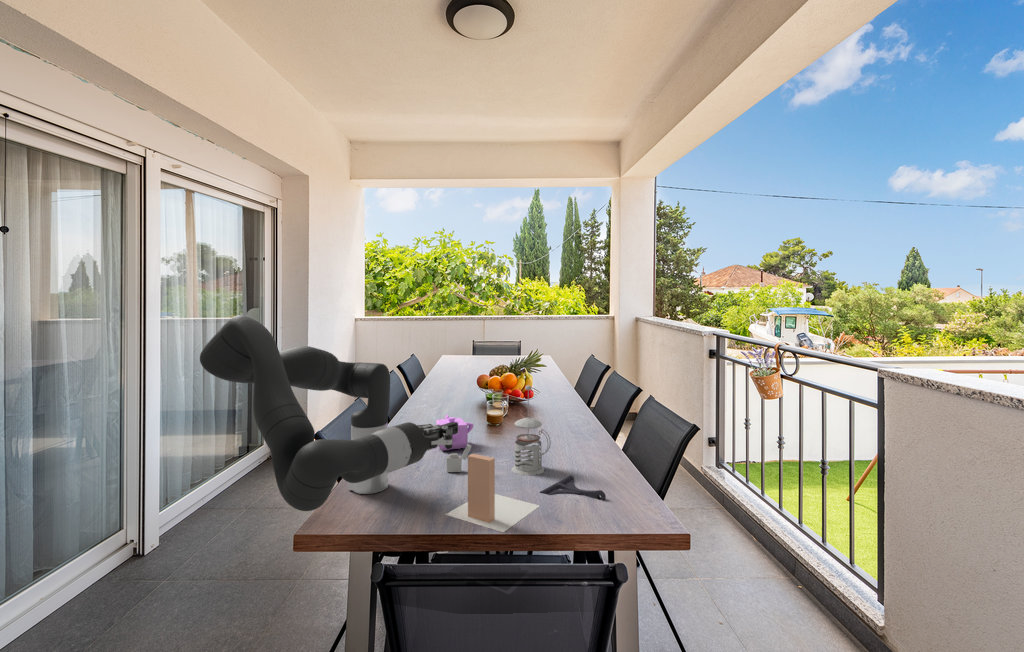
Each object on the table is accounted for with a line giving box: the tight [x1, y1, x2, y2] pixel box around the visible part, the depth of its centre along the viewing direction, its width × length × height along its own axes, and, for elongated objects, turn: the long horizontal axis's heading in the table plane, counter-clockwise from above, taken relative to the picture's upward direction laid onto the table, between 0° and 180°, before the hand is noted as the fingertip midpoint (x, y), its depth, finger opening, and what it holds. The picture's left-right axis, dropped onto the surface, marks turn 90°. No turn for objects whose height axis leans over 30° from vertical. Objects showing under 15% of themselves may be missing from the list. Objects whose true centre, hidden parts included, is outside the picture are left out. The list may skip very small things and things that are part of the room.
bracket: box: [539, 474, 607, 501], centre depth 128 cm, size 14×15×3 cm
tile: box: [467, 453, 496, 523], centre depth 111 cm, size 6×2×14 cm, turn 57°
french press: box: [511, 384, 552, 476], centre depth 144 cm, size 10×12×25 cm
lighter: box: [446, 443, 472, 473], centre depth 143 cm, size 7×2×8 cm, turn 90°
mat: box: [444, 493, 540, 533], centre depth 116 cm, size 16×16×1 cm
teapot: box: [435, 414, 475, 451], centre depth 168 cm, size 18×14×10 cm
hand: (455, 427), depth 103 cm, fingers closed
